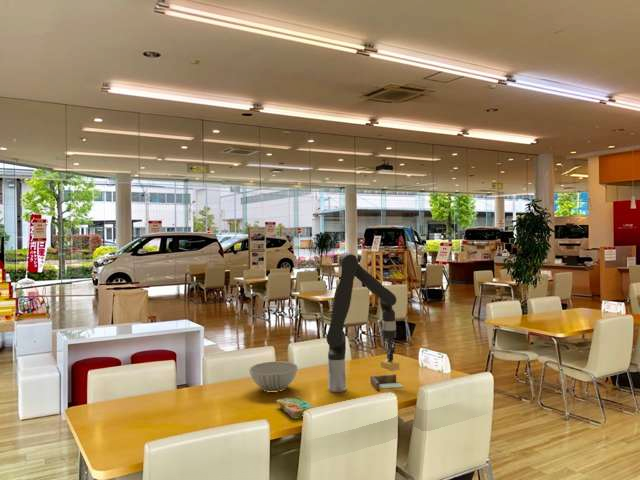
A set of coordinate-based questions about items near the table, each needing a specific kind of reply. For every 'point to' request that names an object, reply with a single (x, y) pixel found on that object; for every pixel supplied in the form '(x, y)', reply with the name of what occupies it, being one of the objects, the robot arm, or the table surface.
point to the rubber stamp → (389, 364)
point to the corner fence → (382, 380)
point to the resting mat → (390, 385)
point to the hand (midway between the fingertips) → (390, 359)
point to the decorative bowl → (273, 375)
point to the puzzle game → (294, 406)
